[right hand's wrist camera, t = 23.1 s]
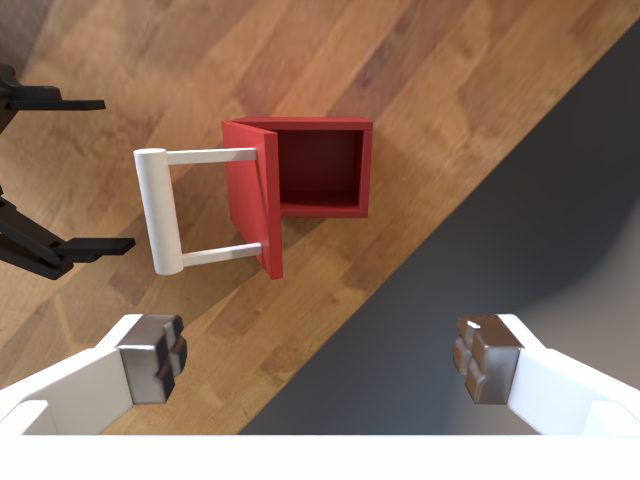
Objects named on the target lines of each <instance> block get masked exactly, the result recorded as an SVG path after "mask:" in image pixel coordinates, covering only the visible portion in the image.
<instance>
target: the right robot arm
mask: <svg viewBox="0 0 640 480" xmlns="http://www.w3.org/2000/svg"><path fill="white" fill-rule="evenodd" d="M183 328H184V326H183V321H182V318H181V317H180V316H179V315H148V314H146V315H144V314H129V315H125V316H124V317H123V318H122V319H121V320H120V321H119V322H118V323H117V324H116V325H115V326H114V327H113V328H112V330H111V331H110V332H109V333H108V334H107V335H106V336H105V337H104V338H103V339H102V340H101V341H100V342H99V343H98V345H97V346H96V347H95V348H94V349H86V350H84V351H82V352H80V353H78V354H76V355H74V356H72V357H70V358H68V359H66V360H63V361H61V362H59V363H57V364H55V365H53V366H51V367H49V368H47V369H45V370H42V371H40V372H38V373H36V374H34V375H32V376H30V377H28V378H26V379H24V380H22V381H19V382H17V383H15V384H13V385H11V386H9V387H7V388H5V389H3V390H1V391H0V480H640V391H639V390H637V389H635V388H633V387H631V386H629V385H627V384H625V383H622V382H620V381H618V380H616V379H614V378H612V377H610V376H608V375H606V374H604V373H602V372H599V371H597V370H595V369H593V368H591V367H589V366H587V365H585V364H583V363H581V362H579V361H576V360H574V359H572V358H570V357H568V356H566V355H564V354H562V353H560V352H558V351H556V350H554V349H546V348H545V347H544V346H543V345H542V344H541V342H540V341H539V340H538V339H537V338H536V337H535V336H534V335H533V334H532V333H531V332H530V331H529V329H528V328H527V327H526V326H525V325H524V324H523V323H522V322H521V321H520V320H519V319H518V318H517V317H516V316H515V315H512V314H502V315H468V316H459V318H458V320H457V325H456V328H457V330H458V332H459V334H460V335H459V336H458V337H457V338H456V339H455V340H454V344H453V359H454V363H455V366H456V369H457V371H458V373H459V374H460V375H462V376H463V377H465V378H466V382H465V386H466V388H467V390H468V392H469V394H470V396H471V398H472V400H473V402H474V403H475V404H497V405H507V407H508V408H509V409H511V410H512V411H513V412H514V413H515V414H517V415H518V416H519V417H520V418H521V419H523V420H524V421H525V422H526V423H528V424H529V425H530V426H531V427H532V428H534V429H535V430H536V431H537V432H539V433H540V434H541V435H99V434H100V433H102V432H103V431H104V430H105V429H106V428H108V427H109V426H110V425H111V424H113V423H114V422H115V421H116V420H117V419H119V418H120V417H121V416H122V415H124V414H125V413H126V412H127V411H128V410H130V409H131V408H132V407H133V405H143V404H166V402H167V400H168V398H169V396H170V394H171V392H172V390H173V388H174V386H175V382H174V378H175V377H177V376H178V375H180V374H181V373H182V371H183V369H184V366H185V363H186V358H187V344H186V340H185V339H184V338H183V337H182V336H181V335H180V334H181V332H182V330H183Z"/></svg>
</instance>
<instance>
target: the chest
mask: <svg viewBox="0 0 640 480" xmlns="http://www.w3.org/2000/svg"><path fill="white" fill-rule="evenodd" d="M230 121H231V122H235V123H239V124H243V125H247V126H252V127H256V128H260V129H264V130H268V131H272V132H276V133H277V137H278V163H279V189H280V215H281V217H283V218H367V217H368V199H369V181H370V163H371V145H372V128H373V122H372V121H369V120H366V119H364V118H334V117H245V118H240V119H235V120H230Z"/></svg>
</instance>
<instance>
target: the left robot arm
mask: <svg viewBox="0 0 640 480" xmlns="http://www.w3.org/2000/svg"><path fill="white" fill-rule="evenodd" d="M100 109H106V108H105V103H104V100H62V98H61V94H60V90H59V88H56V87H54V86H23V85H21V84H20V83H19V82H18V81H17V80H16V78H15V70H14V68H13V67H12V66H10V65H8V64H0V134H1V133H2V131H3V130H4V129H5V128H6V126H7V125H8V124H9V123H10V121H11V120H12V119H13V118H14V116H15V115H16V114H17V112H18V111H19V110H100ZM2 194H4V193H3V191H2V188H1V186H0V232H1V233H2V234H1V233H0V260H2V261H4V262H7V263H10V264H12V265H15V266H17V267H20V268H23V269H25V270H28V271H30V272H33V273H35V274H38V275H41V276H43V277H46V278H48V279H51V280H57V279H58V278H60V277H61V276H63V275H64V274H65V273H67V272H68V271H70V270H71V269H72V268H73V267H74V265H73V263H91V262H94V261H96V260H97V259H99V258H100V257H101V256H103V255H124V254H125V253H126V252H127V251H129V250H130V249H131V248H132V247H133V246H135V245H136V243H135V239H134V238H72V239H71V240H69V241H67V242H65V241H64V240H62V239H61V238H59V237H57V236H56V235H54V234H53V233H51V232H50V231H48V230H46V229H45V228H43V227H42V226H40V225H39V224H37V223H35V222H34V221H32V220H31V219H29V218H27V217H26V216H24V215H23V214H21V213H20V212H18V211H17V210H16V206H15V205H13V204H12V203H10V202H9V201H7V200H5V199H4V198H2V197H1V195H2Z"/></svg>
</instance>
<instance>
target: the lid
mask: <svg viewBox="0 0 640 480" xmlns="http://www.w3.org/2000/svg"><path fill="white" fill-rule="evenodd" d="M222 132H223V143H224V149H215V150H193V151H171V152H167V151H166V150H165V149H141V150H136V151H134V157H135V163H136V168H137V173H138V179H139V184H140V190H141V195H142V200H143V206H144V211H145V217H146V222H147V228H148V233H149V238H150V244H151V249H152V255H153V260H154V265H155V271H156V273H157V274H159V275H172V274H176V273H178V272H180V271H182V270H183V268H184V267H187V266H193V265H199V264H205V263H211V262H217V261H224V260H230V259H236V258H242V257H248V256H254V255H255V256H256V258H257V259H258V260H259V262H260V263H261V265H262V266H263V268H264V269H265V271H266V272H267V274H268V275H269V277H270V278H271V280H274V279H279V278H283V267H282V241H281V215H280V189H279V163H278V137H277V133H276V132H272V131H268V130H264V129H260V128H256V127H252V126H247V125H243V124H239V123H235V122H231V121H222ZM214 162H225V165H226V176H227V186H228V197H229V208H230V219H231V221H232V222H233V223H234V225H235V226H236V228H237V229H238V231H239V232H240V234H241V235H242V237H243V238H244V240H245V241H246V243H247V244H246V245H240V246H233V247H226V248H220V249H213V250H206V251H200V252H193V253H187V254H182V250H181V244H180V237H179V230H178V224H177V217H176V211H175V204H174V197H173V191H172V184H171V178H170V171H169V165H180V164H197V163H214Z"/></svg>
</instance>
